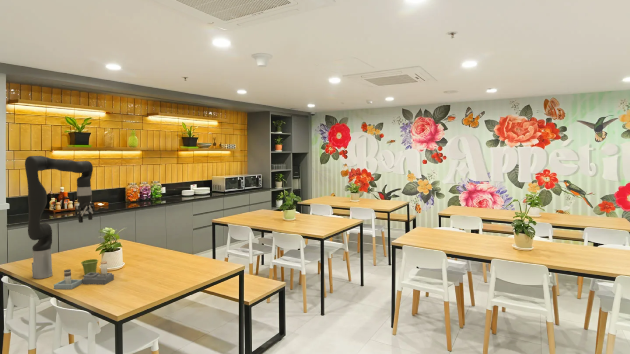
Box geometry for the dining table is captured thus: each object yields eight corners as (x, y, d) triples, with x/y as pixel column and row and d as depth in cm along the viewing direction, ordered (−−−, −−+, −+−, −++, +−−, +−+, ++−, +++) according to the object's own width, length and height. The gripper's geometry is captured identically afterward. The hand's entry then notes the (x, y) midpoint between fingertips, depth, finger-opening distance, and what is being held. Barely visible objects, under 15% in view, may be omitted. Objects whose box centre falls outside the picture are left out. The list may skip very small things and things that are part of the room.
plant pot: (79, 277, 232) (78, 264, 231) (84, 272, 241) (83, 259, 240) (96, 276, 235) (95, 262, 234) (100, 271, 244) (100, 258, 243)
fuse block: (81, 284, 221) (81, 276, 221) (91, 278, 230) (91, 271, 230) (104, 284, 220) (104, 277, 220) (113, 279, 229) (113, 271, 229)
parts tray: (53, 289, 213) (53, 284, 213) (64, 283, 222) (64, 279, 222) (71, 289, 213) (71, 284, 213) (81, 283, 221) (81, 279, 221)
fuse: (100, 277, 223) (99, 262, 222) (103, 275, 226) (102, 261, 226) (105, 277, 223) (104, 263, 222) (108, 275, 226) (108, 261, 226)
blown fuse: (63, 286, 216) (62, 271, 215) (67, 284, 219) (66, 269, 218) (68, 286, 216) (68, 271, 215) (72, 284, 219) (72, 269, 218)
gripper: (86, 193, 232) (87, 218, 233) (69, 195, 218) (71, 223, 219) (97, 193, 231) (99, 219, 233) (82, 195, 217) (83, 223, 219)
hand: (85, 221), depth 226 cm, fingers open, 8 cm apart
